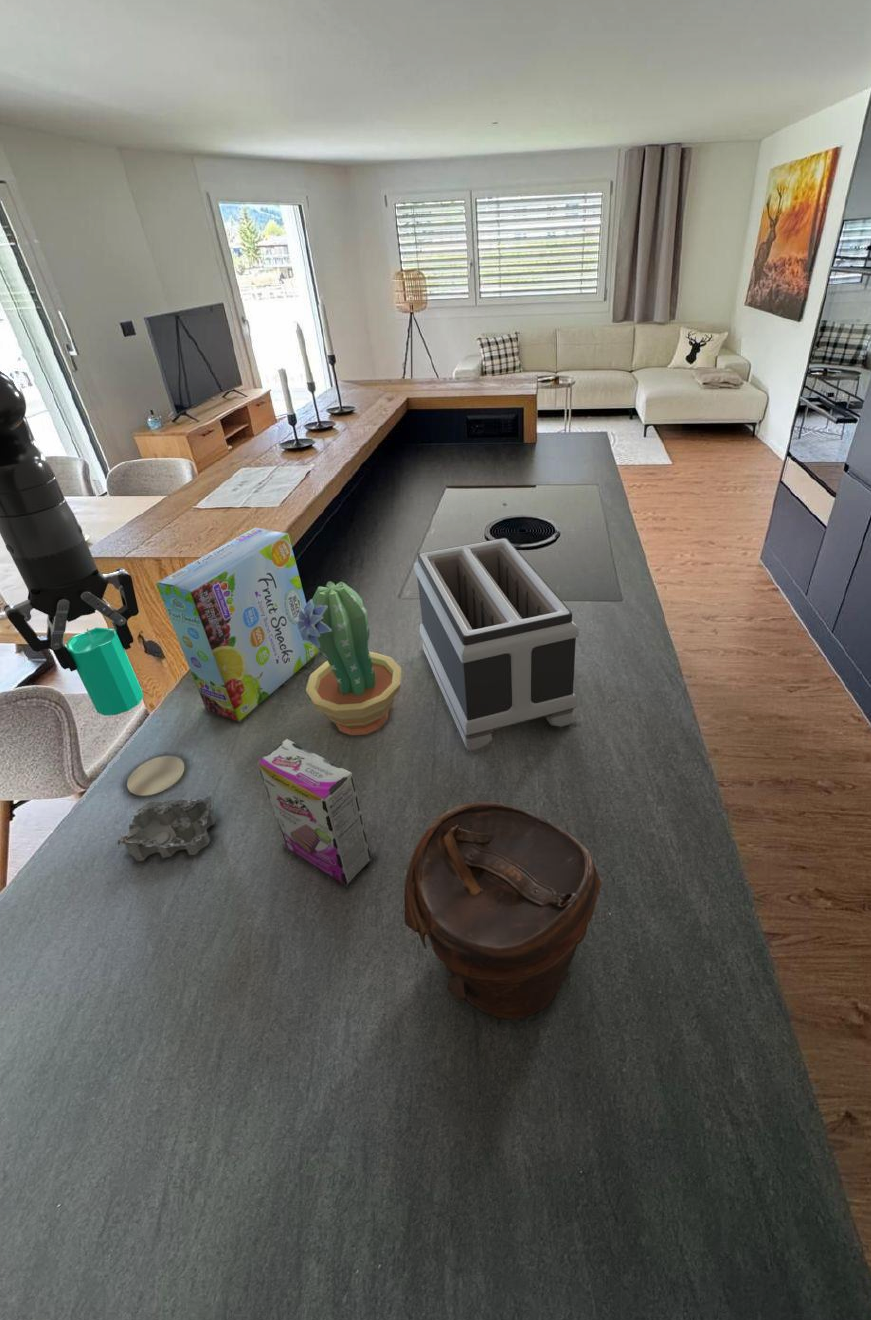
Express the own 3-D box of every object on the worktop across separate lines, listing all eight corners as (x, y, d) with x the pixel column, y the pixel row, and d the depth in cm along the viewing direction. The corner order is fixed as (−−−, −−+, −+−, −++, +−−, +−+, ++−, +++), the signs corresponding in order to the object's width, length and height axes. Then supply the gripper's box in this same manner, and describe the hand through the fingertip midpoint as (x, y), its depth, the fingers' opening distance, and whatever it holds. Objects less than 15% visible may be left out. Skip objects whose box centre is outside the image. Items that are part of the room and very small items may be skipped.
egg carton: (123, 864, 81) (111, 844, 78) (146, 817, 87) (135, 798, 85) (205, 857, 81) (196, 836, 79) (222, 811, 87) (214, 791, 85)
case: (423, 883, 77) (407, 782, 67) (585, 884, 76) (593, 781, 66) (402, 1044, 62) (378, 944, 52) (604, 1047, 61) (618, 946, 51)
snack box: (286, 644, 122) (255, 524, 109) (321, 654, 119) (293, 532, 105) (201, 710, 106) (151, 580, 92) (238, 724, 103) (193, 590, 89)
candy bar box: (284, 850, 81) (254, 761, 73) (311, 823, 85) (286, 735, 76) (346, 890, 76) (322, 799, 67) (373, 859, 80) (353, 770, 71)
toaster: (504, 620, 127) (501, 525, 115) (576, 726, 99) (582, 616, 88) (417, 638, 122) (405, 542, 111) (467, 755, 95) (458, 643, 83)
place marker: (116, 796, 91) (116, 795, 90) (143, 756, 97) (143, 755, 97) (169, 796, 90) (169, 795, 90) (193, 756, 97) (192, 755, 97)
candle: (150, 699, 85) (120, 627, 79) (105, 721, 82) (69, 647, 75) (133, 682, 89) (103, 611, 82) (89, 702, 85) (53, 630, 79)
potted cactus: (311, 699, 108) (279, 573, 94) (398, 679, 111) (379, 555, 98) (319, 759, 95) (284, 624, 82) (416, 735, 99) (399, 601, 85)
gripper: (103, 514, 79) (146, 625, 88) (-33, 551, 71) (31, 669, 80) (121, 531, 74) (165, 646, 83) (-22, 573, 66) (45, 695, 75)
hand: (99, 656), depth 81 cm, fingers closed on candle, 6 cm apart
